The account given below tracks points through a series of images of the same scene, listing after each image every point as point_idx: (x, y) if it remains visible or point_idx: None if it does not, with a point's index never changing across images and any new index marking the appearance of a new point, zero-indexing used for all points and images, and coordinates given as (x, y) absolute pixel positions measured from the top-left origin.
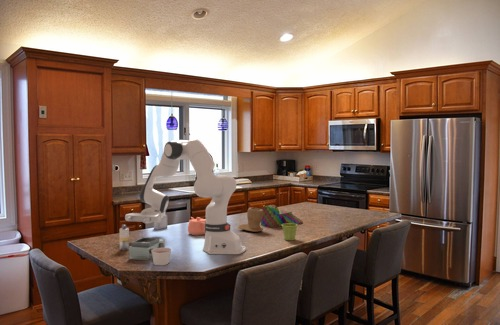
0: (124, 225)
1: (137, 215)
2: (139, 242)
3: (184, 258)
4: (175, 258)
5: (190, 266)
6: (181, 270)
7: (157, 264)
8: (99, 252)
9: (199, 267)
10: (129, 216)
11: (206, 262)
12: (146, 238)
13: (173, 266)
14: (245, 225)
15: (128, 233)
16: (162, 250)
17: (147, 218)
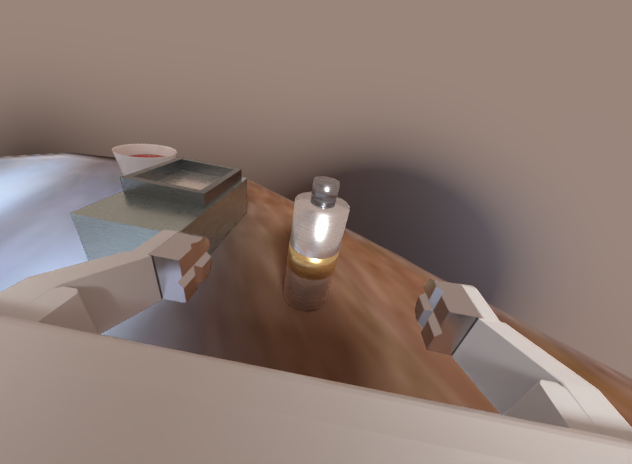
0: (319, 176)
1: (408, 403)
2: (212, 164)
3: (56, 198)
4: (91, 201)
5: (79, 168)
6: (116, 162)
7: None
8: (378, 264)
9: (59, 163)
10: (623, 422)
11: (4, 174)
12: (184, 188)
13: None
14: None
15: (292, 222)
16: (138, 164)
17: (96, 261)
